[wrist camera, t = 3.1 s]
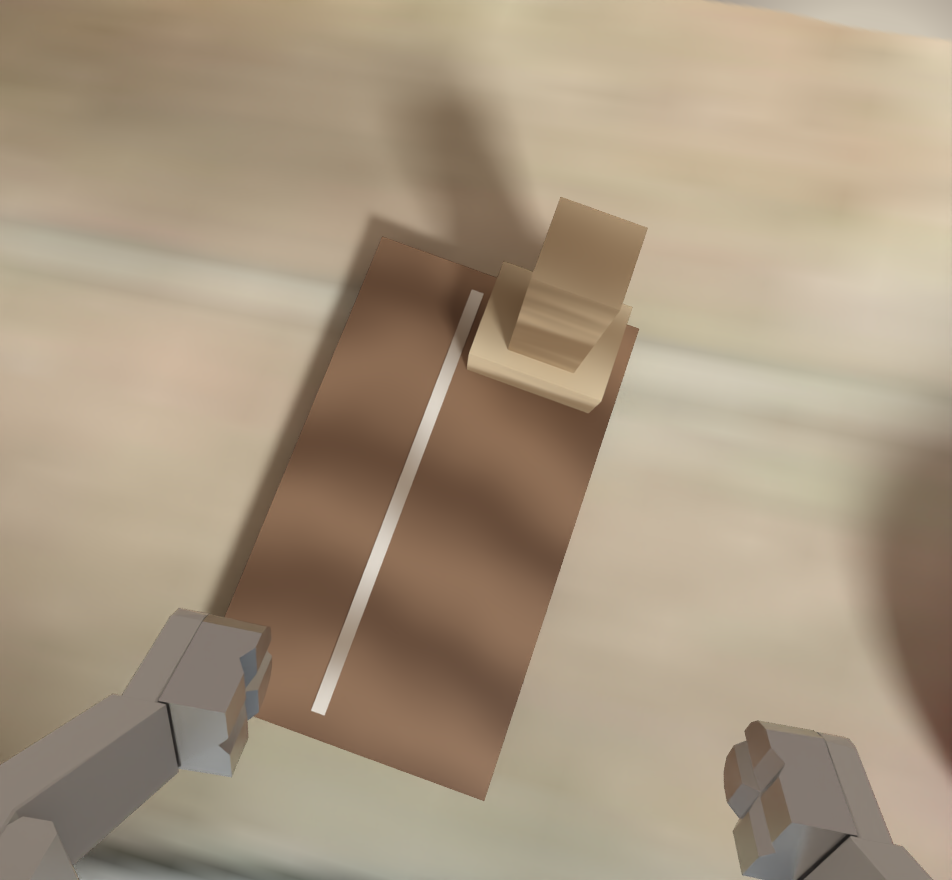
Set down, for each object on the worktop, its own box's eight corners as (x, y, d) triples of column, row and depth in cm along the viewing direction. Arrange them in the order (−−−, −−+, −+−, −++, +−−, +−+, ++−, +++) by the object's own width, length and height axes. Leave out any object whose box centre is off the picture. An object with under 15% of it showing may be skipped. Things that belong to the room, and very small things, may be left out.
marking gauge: (588, 413, 31) (658, 347, 21) (466, 369, 31) (478, 283, 21) (617, 326, 31) (697, 223, 22) (498, 283, 31) (524, 161, 22)
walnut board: (481, 788, 29) (484, 801, 28) (205, 686, 29) (192, 694, 28) (630, 338, 33) (639, 328, 31) (384, 250, 33) (382, 235, 32)
